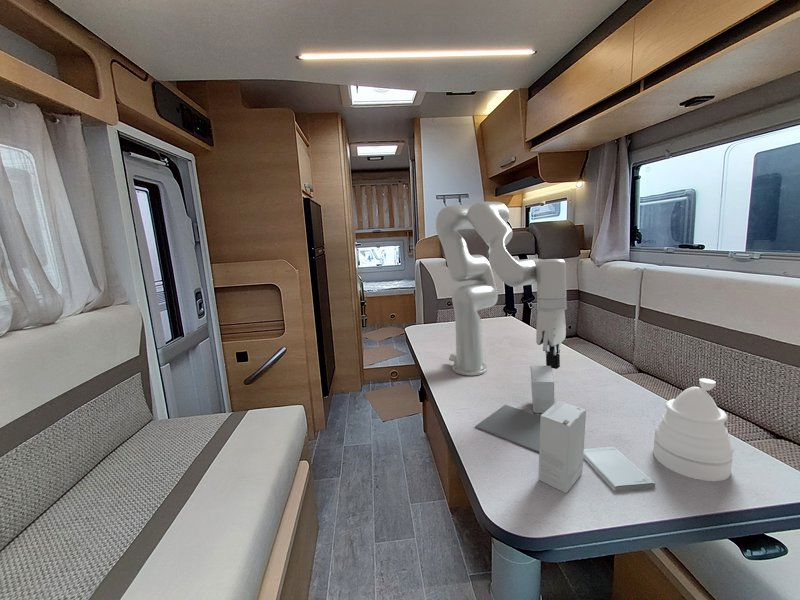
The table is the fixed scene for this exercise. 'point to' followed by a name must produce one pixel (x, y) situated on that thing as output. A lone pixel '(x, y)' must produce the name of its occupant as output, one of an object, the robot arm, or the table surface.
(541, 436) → the skincare box
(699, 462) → the honey pot
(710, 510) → the table surface
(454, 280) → the robot arm
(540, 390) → the small box
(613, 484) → the hard drive
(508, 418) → the rubber mat
